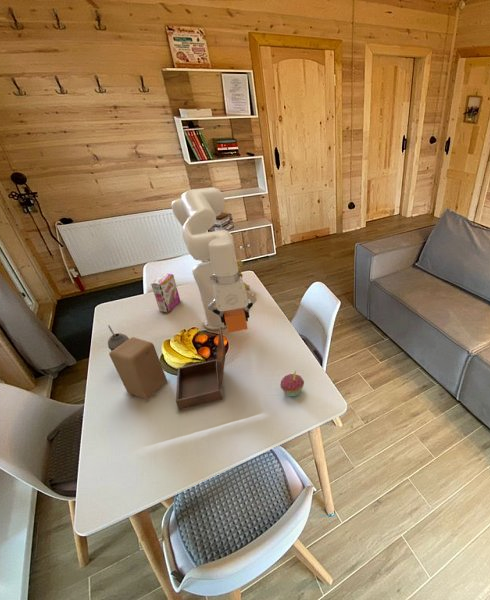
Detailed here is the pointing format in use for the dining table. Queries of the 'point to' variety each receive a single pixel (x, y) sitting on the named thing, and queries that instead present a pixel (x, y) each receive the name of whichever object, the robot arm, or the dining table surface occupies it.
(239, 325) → the orange cube
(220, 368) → the lid
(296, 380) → the cupcake
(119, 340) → the beverage cup
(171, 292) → the candy bar box
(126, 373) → the wooden block
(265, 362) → the dining table surface
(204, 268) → the robot arm
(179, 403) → the chest
